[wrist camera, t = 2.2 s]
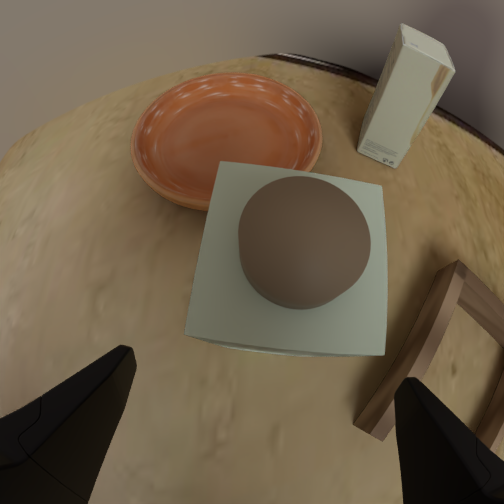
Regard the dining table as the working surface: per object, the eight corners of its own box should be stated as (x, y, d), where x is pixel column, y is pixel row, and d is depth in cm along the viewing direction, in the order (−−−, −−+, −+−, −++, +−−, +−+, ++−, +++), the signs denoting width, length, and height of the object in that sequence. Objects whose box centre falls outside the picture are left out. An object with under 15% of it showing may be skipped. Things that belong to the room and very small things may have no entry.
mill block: (294, 356, 18) (405, 353, 5) (225, 347, 18) (172, 330, 5) (301, 289, 20) (395, 165, 6) (235, 281, 20) (217, 136, 7)
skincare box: (396, 171, 24) (458, 74, 12) (354, 152, 24) (402, 44, 13) (400, 130, 26) (446, 43, 14) (364, 113, 26) (400, 20, 15)
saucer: (254, 77, 28) (254, 56, 25) (351, 171, 24) (362, 150, 21) (120, 134, 25) (111, 114, 22) (186, 263, 20) (177, 248, 18)
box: (455, 477, 13) (474, 485, 11) (352, 424, 16) (369, 434, 13) (516, 348, 17) (537, 344, 15) (437, 271, 20) (458, 259, 17)
